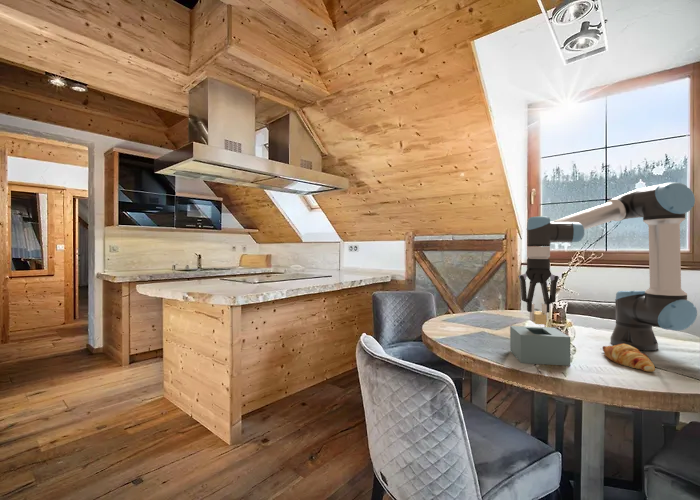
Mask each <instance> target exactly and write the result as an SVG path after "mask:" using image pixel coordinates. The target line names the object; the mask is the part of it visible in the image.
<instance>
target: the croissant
mask: <svg viewBox="0 0 700 500" xmlns="http://www.w3.org/2000/svg"><path fill="white" fill-rule="evenodd" d="M602 351H603V353H604V355H605V357H607V358H608V359H609V360H610V361H611V362H613V363H615V364H618V365H621V366H623V367H624V366H625V367H628V366H629V368H631V369H635V368H636V369H637V370H642V371H643V372H650V373H652V372H654V371H655V370H656V368H655V367H656V366H655V365H654V362H653V361H652V360H651V359H650V358H649V357H648V355H647V354H646V353H642V352H641V350H638V349H637V348H635V347H632V346H630V345H627V344H624V343H623V344H618V345H612V346H611V345H607V346H606V345H605V346H604V345H603V346H602Z"/></svg>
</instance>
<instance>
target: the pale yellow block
mask: <svg viewBox="0 0 700 500" xmlns="http://www.w3.org/2000/svg"><path fill="white" fill-rule="evenodd" d="M531 322H532V323H533V324H535V325H542V326H543V325H544V326H545V325H546V326H547V322H546V314H544V313H542V311H538V310H534V322H533V321H531Z"/></svg>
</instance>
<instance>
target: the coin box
mask: <svg viewBox="0 0 700 500" xmlns="http://www.w3.org/2000/svg"><path fill="white" fill-rule="evenodd" d="M509 333H510V334H509V337H510V338H509V342H510V343H509V344H510V347H509V348H510V349H509V351H510V353H511V354H513V356H514V357H515V358H516V359H517V360H518V361H519V363H520V364H533V365H534V364H535V365H537V364H538V365H550V366H551V365H553V366H571V336H569V335H568V334H566V333H564V332H562V331H561V330H560V329H557V327H544V326H521V325H520V326H519V325H510V326H509Z"/></svg>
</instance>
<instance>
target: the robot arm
mask: <svg viewBox="0 0 700 500" xmlns="http://www.w3.org/2000/svg"><path fill="white" fill-rule="evenodd" d="M695 203H696V196H695V195H694V192H693V190H692V189H691V188H690V187H688V186H687V184H684V183H681V182H677V181H676V182H663V183H660V184H656V185H651V186H646V187H640V188H637V189H634V190H632V191H628V192H627V193H624V194H621V195H618V196H615V197H613V198H611V199H608V200H607V201H606V202H605V203H603V204H601V205H597V206H594V207H591V208H588V209H585V210H582V211H579V212H576V213H573V214H570V215H566V216H564V217H561V218H557V219H554V220H552V221H551V216H546V215H544V216H543V215H541V216H540V215H539V216H531V217H529V218H528V219H527V223H526V257H527V259H526V271H525V273H524V274H518V276H517V277H518V279H519V281H520V282H519V283H520V284H519V285H520V297H521V299H520V300H521V301H523V302H525V303H526V311H527V312H528V313H529V321H531V322H532V321H533V322H534V311H535V303H533V300H534V294H535V290H536V286H537V284H539V285H540V288H541V292H542V293H541V294H542V297H543V302H542V303H541V312H542V313H544V314H546V323H547V322H548V319H547V318H548V314H547V313H550V311H551V310H550V306H551V304H552V303H556V298H557V285H558V284H557V283H558V281H559V280H560V276H558V275H555V274H553V273H552V272H551V260H550V259H549V258H550V257H551V244H552V243H579V242H581V241H582V240H583V238H584V237H585V231H586V230H589V229H591V228H594V227H597V226H600V225H603V224H606V223H610V222H612V221H615V222H620V221H623V220H628V219H635V218H642V221H643V222H644V223H645V224H646V225H648V263H649V287H648V288H647V289H645V290H619V291H617V292H616V294H615V299H614V300H615V301H614V302H615V326H614V328H613V331H612V333H611V336H610V344H611V345H612V346H614V345H618V344H623V343H624V344H627V345H630V346H632V347H635V348H637V349H638V350H639V351H642V350H655V351H657V350H656V349H658V350H659V343H658V339H657V338H656V335H655V333H654V330H653V327H656V328H660V329H663V330H670V331H673V332H674V331H676V332H681V331H684V330H687V329H689V328H690V327H691V326H693V324H694V323H695V322H696V319H697V316H698V310H697V307H696V305H695V304H694V303H693V302H692V301H690V300H688V293H687V292H685V290H683V289H682V272H681V271H682V270H681V267H682V266H681V259H682V258H681V224H682V222H684V221H685V220H686V219H687V218H686V215H687V213H689V212H690V211H692V209H693V208H694V207H695ZM527 278H528V280H529V285H528V286H529V287H528V292H527V281H526V280H527ZM549 279H550V284H549V286H550V287H549V290H548V282H547V281H548V280H549ZM533 322H532V323H533Z"/></svg>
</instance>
